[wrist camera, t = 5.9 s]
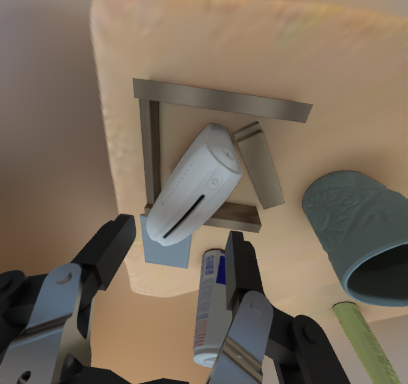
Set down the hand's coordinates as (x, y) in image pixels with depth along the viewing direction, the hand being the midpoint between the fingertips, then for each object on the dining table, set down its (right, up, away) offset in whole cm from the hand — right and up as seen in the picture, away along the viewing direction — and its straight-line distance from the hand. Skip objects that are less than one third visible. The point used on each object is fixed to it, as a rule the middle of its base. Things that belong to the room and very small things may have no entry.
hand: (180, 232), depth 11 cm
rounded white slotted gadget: (+1, +7, +11) cm, 14 cm away
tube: (+34, -24, +28) cm, 51 cm away
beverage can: (+4, -10, +22) cm, 25 cm away
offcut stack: (+9, +6, +11) cm, 16 cm away
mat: (-6, -7, +21) cm, 23 cm away
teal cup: (+20, +2, +13) cm, 24 cm away
